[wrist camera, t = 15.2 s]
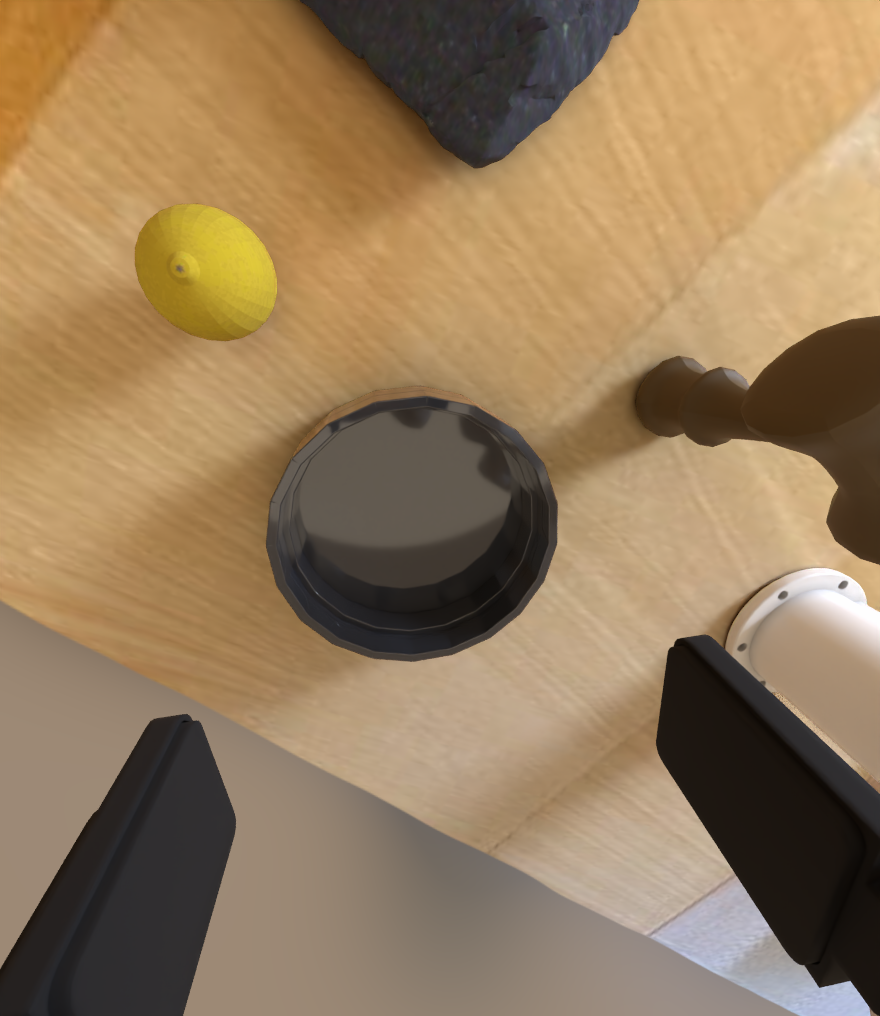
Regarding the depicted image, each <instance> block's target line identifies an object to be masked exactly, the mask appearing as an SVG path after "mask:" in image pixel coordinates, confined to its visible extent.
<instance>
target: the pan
mask: <svg viewBox="0 0 880 1016" xmlns="http://www.w3.org/2000/svg"><path fill="white" fill-rule="evenodd" d="M557 516H558V504H557V500H556V497H555V494H554V491H553V488H552V485H551V482H550V480H549V477H548V474H547V471H546V468H545V465H544V463H543V462H542V461H541V459H540V458H539V457H538V456H537V455H536V453H535V452H534V451H533V450H532V448H531V447H530V446H529V445H528V444H527V442H526V441H525V440H524V439H523V437H522V436H521V435H520V434H519V432H518V431H517V430H516V429H514V428H513V427H512V426H510V425H509V424H508V423H506V422H505V421H503V420H502V419H501V418H499V417H498V416H496V415H495V414H493V413H491V412H490V411H488V410H487V409H485V408H483V407H482V406H480V405H478V404H477V403H475V402H473V401H472V400H470V399H468V398H467V397H465V396H463V395H461V394H456V393H452V392H447V391H442V390H438V389H433V388H428V387H424V386H411V387H402V388H393V389H385V390H376V391H372V392H370V393H368V394H366V395H364V396H362V397H359V398H357V399H355V400H353V401H351V402H349V403H347V404H344V405H342V406H340V407H338V408H336V409H334V410H332V411H331V412H330V413H329V414H328V415H327V416H326V417H325V418H324V419H323V420H322V421H321V422H320V423H319V424H318V425H317V426H316V427H315V428H314V429H313V430H311V431H310V432H309V433H308V434H307V435H306V436H305V437H304V438H303V439H302V440H301V442H300V444H299V445H298V447H297V449H296V451H295V453H294V454H293V456H292V458H291V460H290V462H289V464H288V466H287V468H286V470H285V472H284V474H283V476H282V478H281V480H280V482H279V484H278V486H277V488H276V490H275V492H274V494H273V496H272V498H271V501H270V507H269V517H268V527H267V537H266V548H267V552H268V556H269V559H270V563H271V567H272V571H273V574H274V578H275V582H276V585H277V587H278V589H279V590H280V592H281V593H282V594H283V596H284V597H285V599H286V600H287V602H288V603H289V604H290V606H291V607H292V609H293V610H294V612H295V613H296V614H297V616H298V617H299V619H300V620H301V621H302V622H304V623H305V624H306V625H308V626H309V627H310V628H312V629H313V630H314V631H316V632H317V633H318V634H320V635H321V636H322V637H324V638H325V639H326V640H328V641H329V642H330V643H332V644H334V645H336V646H339V647H342V648H345V649H347V650H350V651H353V652H356V653H358V654H361V655H364V656H367V657H369V658H373V659H385V660H397V661H410V662H412V661H413V662H415V661H420V660H426V659H432V658H438V657H443V656H449V655H453V654H456V653H458V652H460V651H462V650H464V649H467V648H469V647H471V646H473V645H476V644H478V643H480V642H482V641H485V640H487V639H489V638H491V637H492V636H493V635H495V634H496V633H497V632H498V631H500V630H501V629H502V628H503V627H505V626H506V625H507V624H508V623H510V622H511V621H512V620H513V619H515V618H516V617H517V616H518V615H520V614H521V612H522V611H523V610H524V608H525V607H526V606H527V604H528V603H529V601H530V600H531V599H532V597H533V596H534V595H535V593H536V592H537V590H538V589H539V588H540V586H541V585H542V583H543V582H544V580H545V577H546V575H547V572H548V569H549V566H550V563H551V560H552V557H553V554H554V551H555V548H556V546H557Z"/></svg>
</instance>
